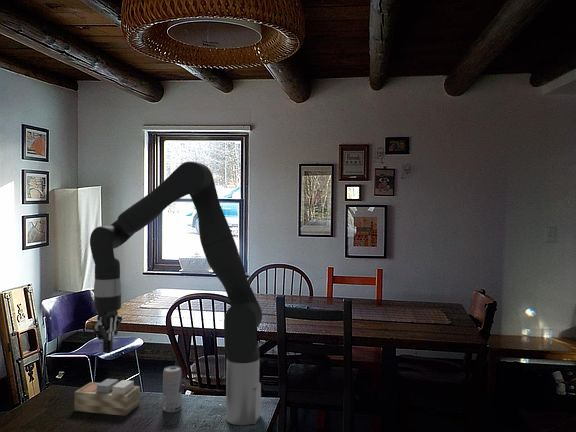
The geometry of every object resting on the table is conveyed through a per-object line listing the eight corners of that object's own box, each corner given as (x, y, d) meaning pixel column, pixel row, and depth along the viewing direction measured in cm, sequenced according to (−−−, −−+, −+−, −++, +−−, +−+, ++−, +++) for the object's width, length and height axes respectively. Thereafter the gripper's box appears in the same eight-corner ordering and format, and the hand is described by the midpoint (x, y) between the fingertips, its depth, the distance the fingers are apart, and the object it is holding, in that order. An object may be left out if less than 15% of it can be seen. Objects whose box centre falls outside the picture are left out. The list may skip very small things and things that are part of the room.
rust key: (102, 394, 152) (102, 384, 152) (92, 401, 147) (92, 391, 146) (92, 393, 153) (92, 383, 153) (81, 400, 147) (81, 390, 147)
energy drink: (182, 405, 151) (183, 365, 151) (179, 412, 146) (179, 371, 145) (164, 405, 151) (165, 365, 151) (161, 412, 146) (161, 371, 145)
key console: (139, 404, 151) (139, 386, 151) (125, 415, 143) (126, 396, 143) (90, 399, 154) (90, 382, 154) (74, 410, 146) (74, 392, 146)
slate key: (118, 389, 151) (118, 379, 151) (108, 396, 146) (108, 386, 146) (107, 388, 152) (107, 378, 152) (96, 395, 146) (96, 385, 146)
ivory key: (133, 390, 150) (133, 380, 150) (124, 397, 145) (124, 387, 145) (122, 389, 151) (122, 379, 151) (112, 396, 145) (112, 386, 145)
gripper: (107, 298, 141) (107, 359, 141) (130, 290, 154) (130, 346, 154) (82, 297, 142) (83, 358, 142) (107, 289, 155) (108, 345, 155)
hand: (107, 352), depth 148 cm, fingers closed
